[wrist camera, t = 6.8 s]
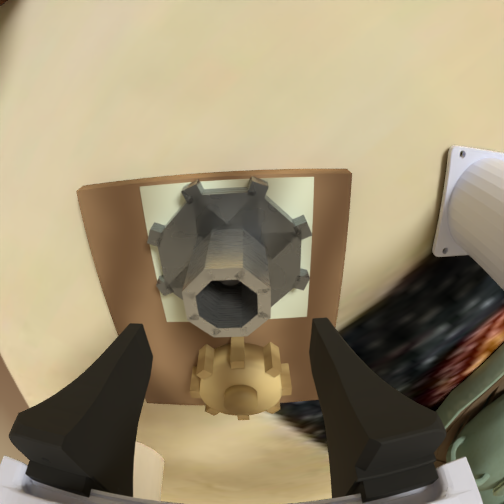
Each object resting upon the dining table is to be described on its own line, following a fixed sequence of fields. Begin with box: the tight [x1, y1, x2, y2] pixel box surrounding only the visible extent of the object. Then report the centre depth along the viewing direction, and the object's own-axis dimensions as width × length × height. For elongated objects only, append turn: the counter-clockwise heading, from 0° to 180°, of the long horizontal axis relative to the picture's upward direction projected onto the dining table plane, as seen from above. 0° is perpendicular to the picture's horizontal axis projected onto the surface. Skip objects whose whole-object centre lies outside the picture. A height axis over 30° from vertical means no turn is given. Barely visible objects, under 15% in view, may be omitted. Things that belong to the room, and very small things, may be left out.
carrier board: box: [77, 169, 352, 420], centre depth 21 cm, size 16×20×4 cm
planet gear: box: [147, 176, 312, 337], centre depth 17 cm, size 9×9×5 cm
